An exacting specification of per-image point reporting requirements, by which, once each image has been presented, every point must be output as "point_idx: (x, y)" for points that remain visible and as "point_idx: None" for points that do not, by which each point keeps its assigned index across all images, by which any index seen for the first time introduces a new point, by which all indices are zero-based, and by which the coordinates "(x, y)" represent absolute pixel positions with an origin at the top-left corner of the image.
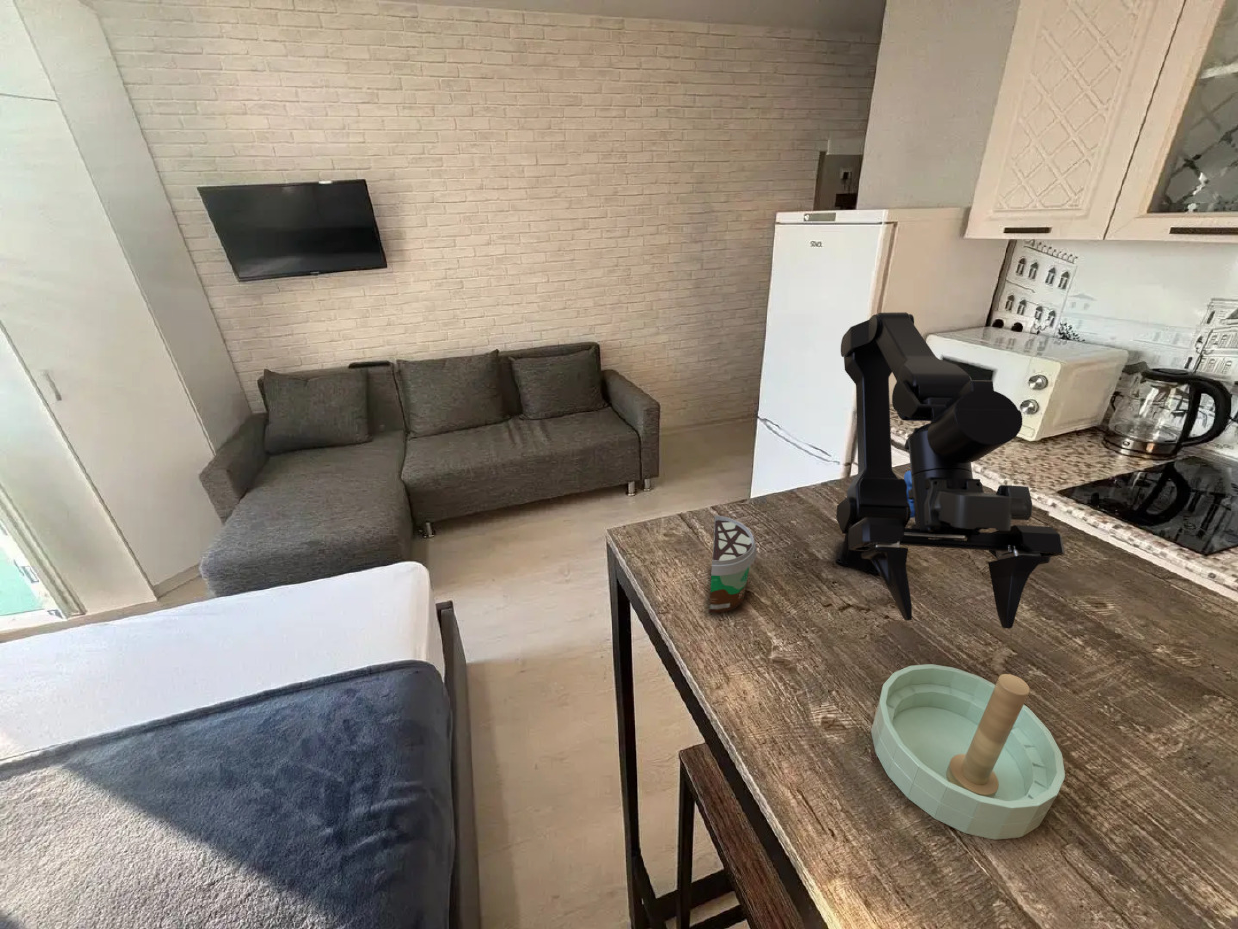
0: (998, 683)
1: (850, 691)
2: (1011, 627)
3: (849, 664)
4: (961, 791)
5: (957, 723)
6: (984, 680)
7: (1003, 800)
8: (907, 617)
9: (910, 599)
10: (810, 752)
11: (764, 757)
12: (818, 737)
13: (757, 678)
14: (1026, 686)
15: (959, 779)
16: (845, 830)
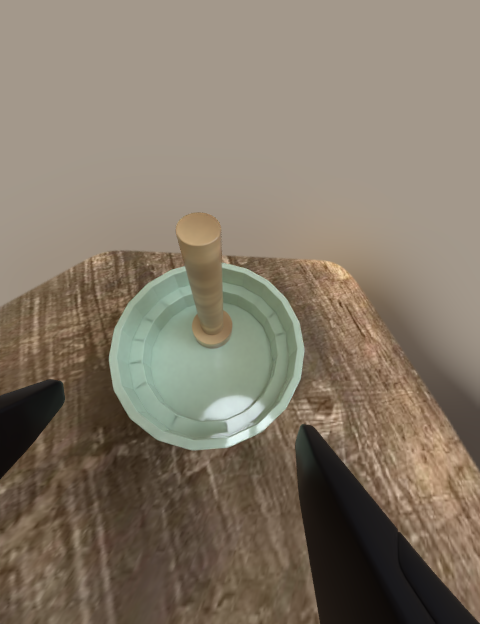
0: (219, 238)
1: (286, 456)
2: (51, 380)
3: (272, 515)
4: (258, 276)
5: (181, 394)
6: (129, 410)
7: (225, 267)
8: (314, 429)
9: (324, 469)
10: (349, 371)
11: (394, 367)
12: (338, 388)
13: (410, 485)
14: (181, 223)
15: (229, 319)
16: (330, 305)
